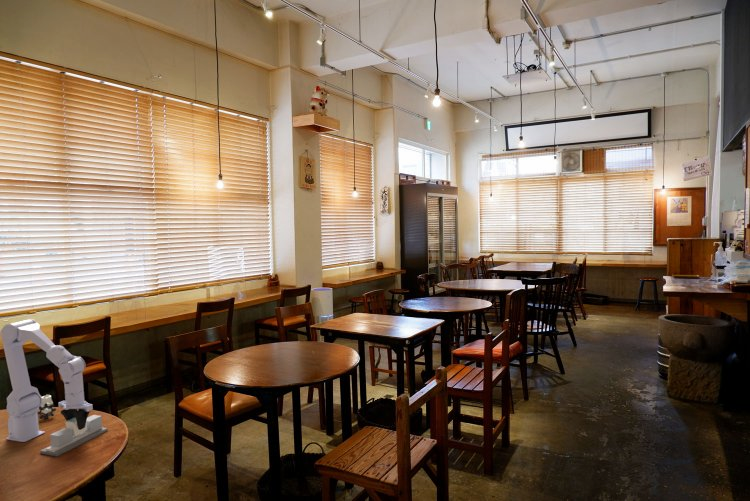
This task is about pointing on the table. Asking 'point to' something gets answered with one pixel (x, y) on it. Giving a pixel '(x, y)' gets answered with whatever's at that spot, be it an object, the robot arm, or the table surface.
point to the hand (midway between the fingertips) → (77, 427)
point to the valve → (46, 407)
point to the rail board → (74, 437)
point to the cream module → (74, 426)
